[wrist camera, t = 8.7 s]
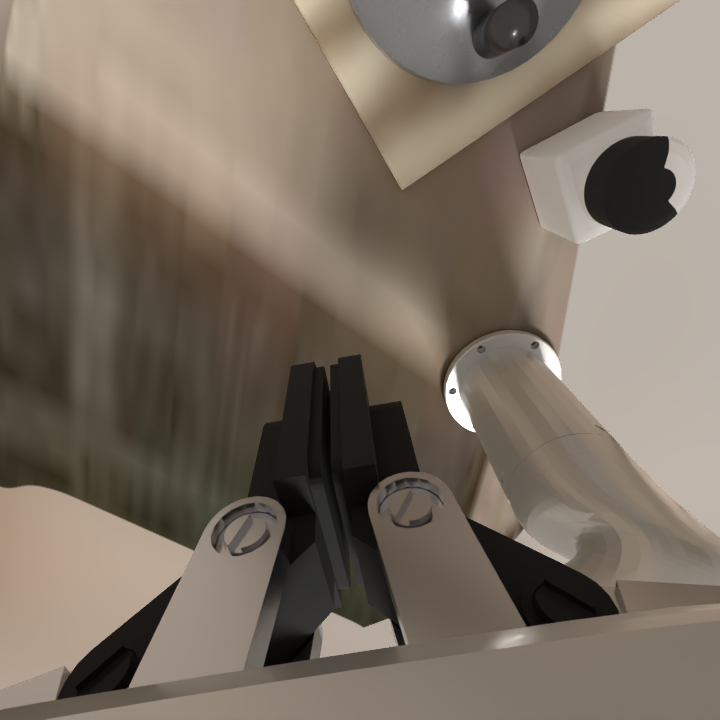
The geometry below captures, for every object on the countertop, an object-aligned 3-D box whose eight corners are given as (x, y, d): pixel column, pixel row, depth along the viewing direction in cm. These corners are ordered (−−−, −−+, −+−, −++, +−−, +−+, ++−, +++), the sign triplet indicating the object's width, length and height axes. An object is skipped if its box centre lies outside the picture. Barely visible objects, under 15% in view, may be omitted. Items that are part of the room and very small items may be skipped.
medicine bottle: (540, 228, 41) (613, 263, 31) (517, 153, 38) (589, 162, 28) (615, 191, 40) (718, 213, 30) (598, 110, 37) (706, 102, 27)
